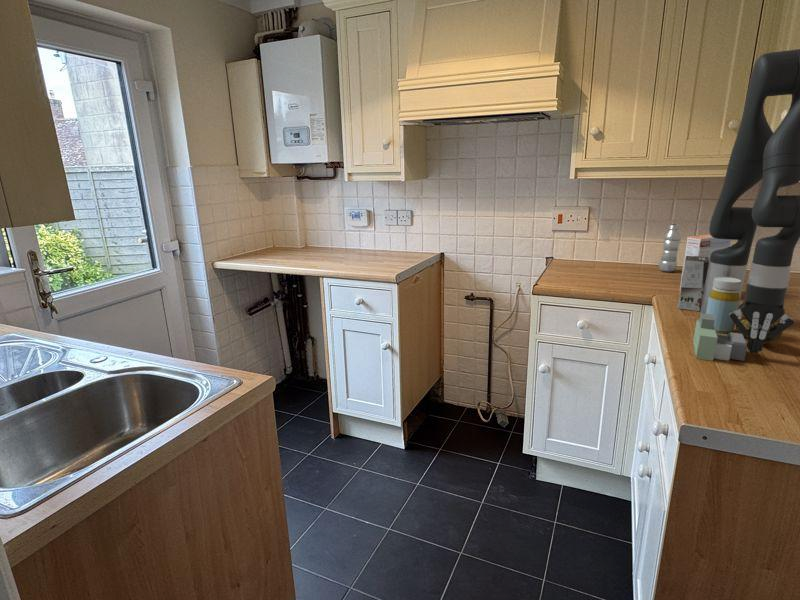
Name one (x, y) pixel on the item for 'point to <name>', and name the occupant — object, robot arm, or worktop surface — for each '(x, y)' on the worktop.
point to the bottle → (724, 303)
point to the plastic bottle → (670, 249)
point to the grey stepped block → (735, 345)
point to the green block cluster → (709, 340)
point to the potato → (746, 324)
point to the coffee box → (693, 282)
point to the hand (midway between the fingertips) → (753, 351)
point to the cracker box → (703, 247)
